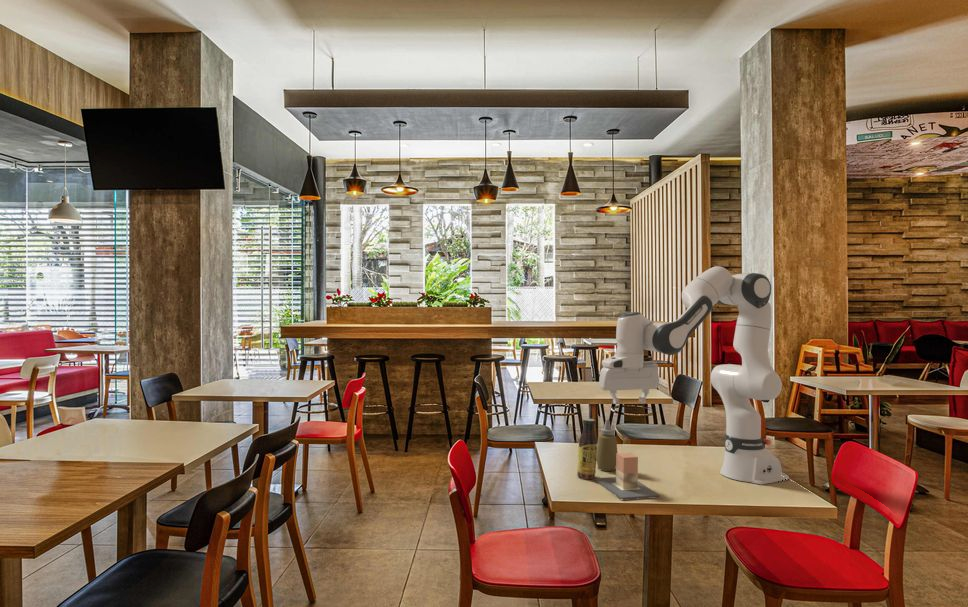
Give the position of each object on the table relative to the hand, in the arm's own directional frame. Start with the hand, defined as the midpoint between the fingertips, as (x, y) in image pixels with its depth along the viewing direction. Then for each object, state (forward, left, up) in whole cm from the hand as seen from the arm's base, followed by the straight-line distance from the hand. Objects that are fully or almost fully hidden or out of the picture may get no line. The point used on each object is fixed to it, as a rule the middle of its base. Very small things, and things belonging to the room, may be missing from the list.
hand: (629, 403), depth 173 cm
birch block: (+2, +3, -26) cm, 27 cm away
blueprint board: (+2, +3, -27) cm, 27 cm away
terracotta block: (+2, +3, -21) cm, 22 cm away
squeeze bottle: (-1, -17, -28) cm, 32 cm away
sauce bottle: (+10, -10, -28) cm, 31 cm away
